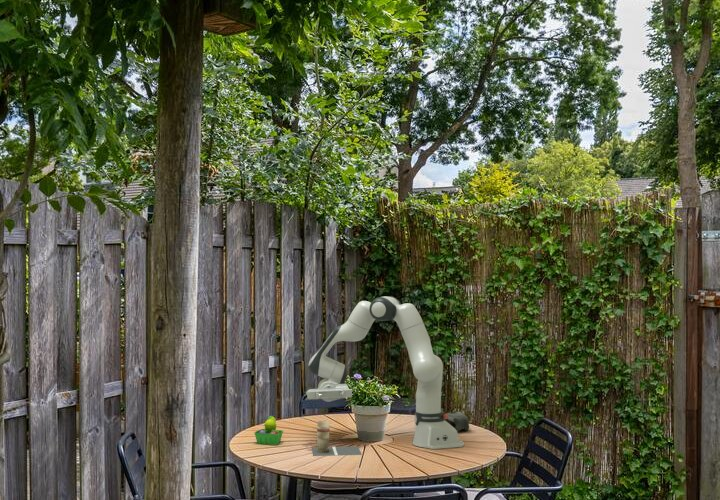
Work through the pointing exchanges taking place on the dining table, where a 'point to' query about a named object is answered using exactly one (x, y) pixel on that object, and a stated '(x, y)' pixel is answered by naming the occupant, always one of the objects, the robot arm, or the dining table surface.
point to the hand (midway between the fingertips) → (331, 395)
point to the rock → (458, 421)
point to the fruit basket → (269, 433)
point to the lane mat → (338, 451)
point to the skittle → (323, 436)
